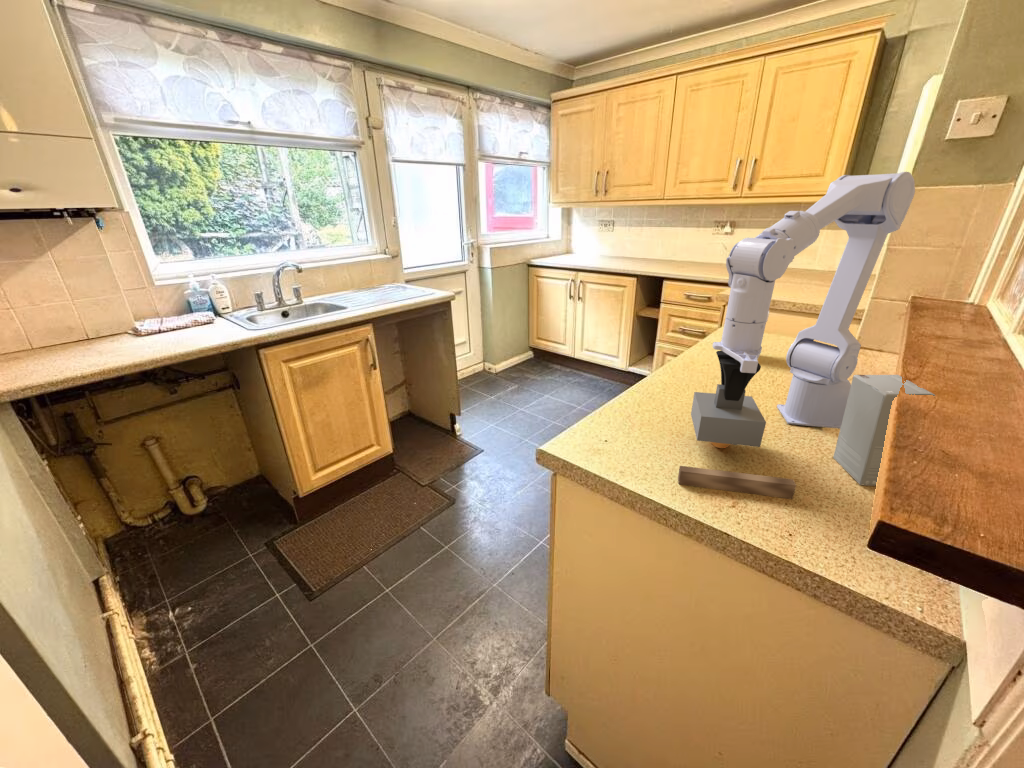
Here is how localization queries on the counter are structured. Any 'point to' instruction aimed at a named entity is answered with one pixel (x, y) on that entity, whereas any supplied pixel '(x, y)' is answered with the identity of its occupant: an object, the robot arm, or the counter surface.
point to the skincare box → (868, 424)
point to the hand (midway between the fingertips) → (730, 396)
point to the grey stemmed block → (727, 419)
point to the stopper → (737, 482)
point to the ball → (720, 445)
